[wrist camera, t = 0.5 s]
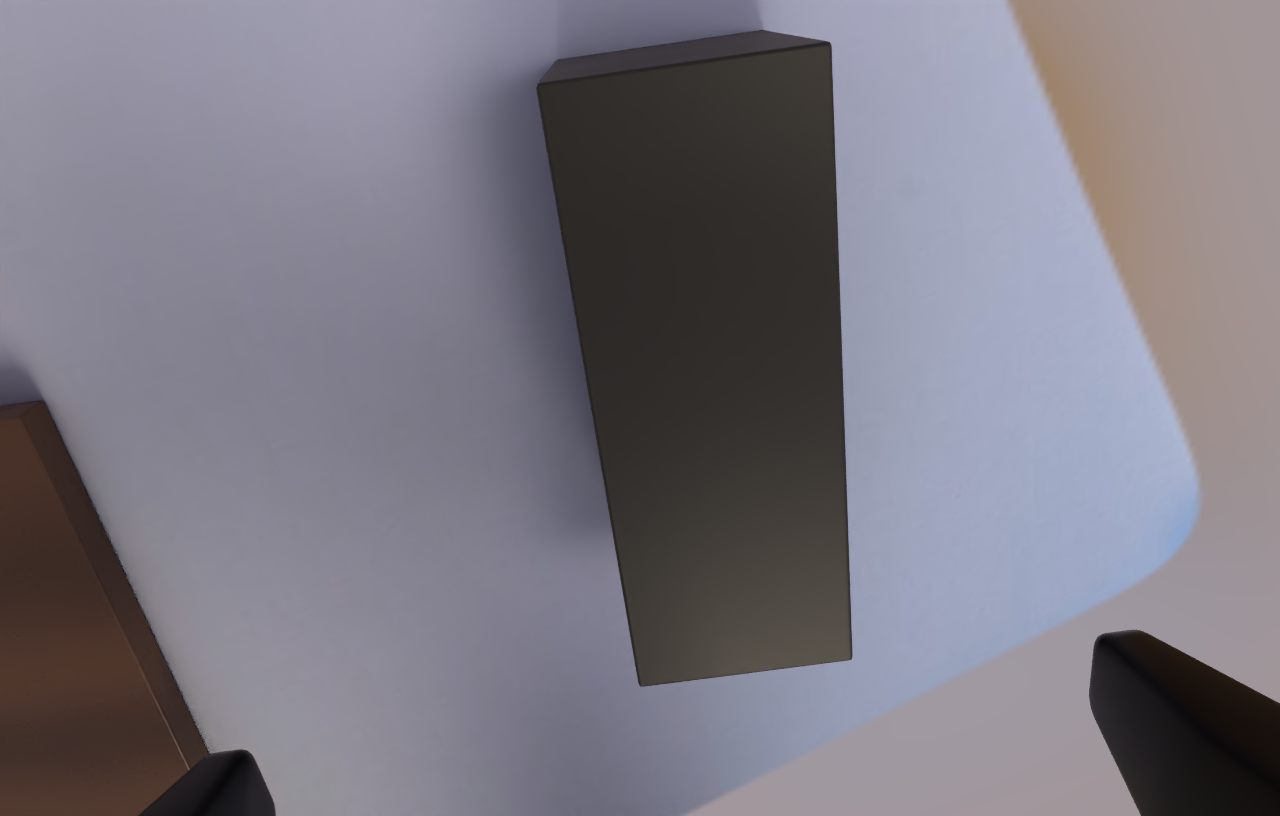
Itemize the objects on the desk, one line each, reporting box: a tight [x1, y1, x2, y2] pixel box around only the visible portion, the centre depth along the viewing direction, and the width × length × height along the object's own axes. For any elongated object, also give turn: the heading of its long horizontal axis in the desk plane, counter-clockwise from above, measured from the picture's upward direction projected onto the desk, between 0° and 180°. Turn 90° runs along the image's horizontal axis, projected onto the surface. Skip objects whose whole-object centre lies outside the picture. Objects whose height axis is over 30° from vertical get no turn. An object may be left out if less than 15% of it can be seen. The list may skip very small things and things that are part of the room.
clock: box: [536, 30, 852, 687], centre depth 18 cm, size 12×5×6 cm, turn 7°
